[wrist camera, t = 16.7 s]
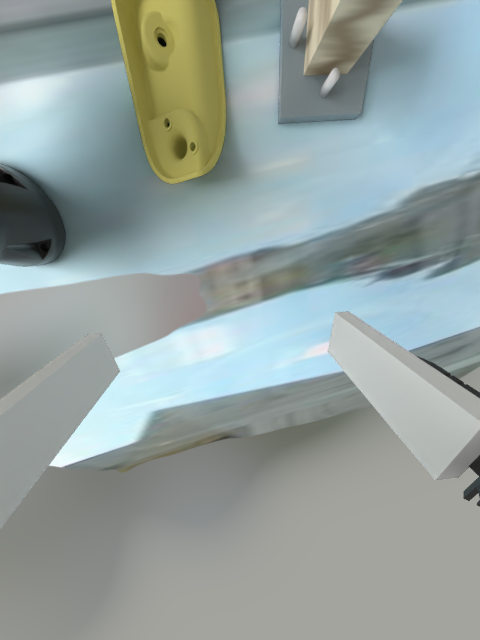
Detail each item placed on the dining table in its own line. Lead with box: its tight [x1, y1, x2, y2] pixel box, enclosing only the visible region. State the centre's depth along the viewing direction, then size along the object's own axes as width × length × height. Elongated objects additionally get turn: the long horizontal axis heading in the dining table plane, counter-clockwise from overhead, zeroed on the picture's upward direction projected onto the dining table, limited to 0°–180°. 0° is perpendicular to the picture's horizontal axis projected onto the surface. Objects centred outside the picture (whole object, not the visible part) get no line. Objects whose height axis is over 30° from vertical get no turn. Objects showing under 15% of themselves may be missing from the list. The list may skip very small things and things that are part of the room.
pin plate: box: [278, 0, 374, 123], centre depth 22 cm, size 12×14×4 cm
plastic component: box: [111, 0, 226, 184], centre depth 25 cm, size 20×7×10 cm
